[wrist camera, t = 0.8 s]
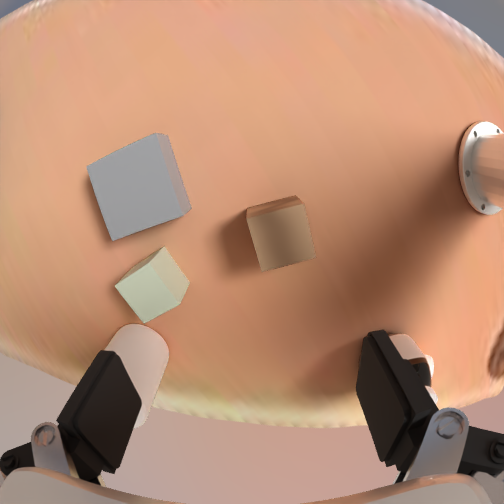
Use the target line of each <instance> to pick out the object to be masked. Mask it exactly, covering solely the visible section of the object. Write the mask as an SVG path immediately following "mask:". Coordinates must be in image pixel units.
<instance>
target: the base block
mask: <svg viewBox="0 0 504 504" xmlns="http://www.w3.org/2000/svg"><path fill="white" fill-rule="evenodd" d="M87 170H88V173H89V177H90V180H91V183H92V186H93V189H94V192H95V195H96V198H97V201H98V204H99V207H100V210H101V213H102V215H103V218H104V221H105V224H106V226H107V229H108V231H109V234H110V237H111V239H112V241H114V240H117V239H119V238H122V237H125V236H128V235H130V234H133V233H136V232H138V231H141V230H144V229H147V228H150V227H152V226H155V225H158V224H161V223H164V222H167V221H170V220H173V219H176V218H178V217H181V216H184V215H185V214H186V213H187V212H188V211H189V210H190V209H192V207H191V204H190V202H189V199H188V196H187V193H186V190H185V187H184V184H183V181H182V178H181V175H180V172H179V168H178V165H177V162H176V159H175V156H174V153H173V150H172V147H171V143H170V140H169V137H168V135H164V134H159V133H154V134H152V135H150V136H147V137H145V138H143V139H140V140H138V141H136V142H134V143H132V144H130V145H127V146H125V147H123V148H121V149H119V150H117V151H115V152H113V153H111V154H109V155H107V156H105V157H103V158H101V159H99V160H98V161H96V162H94V163H92V164H90V165H88V166H87Z"/></svg>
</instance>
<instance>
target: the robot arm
mask: <svg viewBox="0 0 504 504" xmlns="http://www.w3.org/2000/svg"><path fill="white" fill-rule="evenodd" d="M459 176H460V181H461V185H462V188H463V192H464V194H465V196H466V198H467V200H468V202H469V203H470V205H471V206H472V207H473V208H474V209H475V210H476V211H478V212H480V213H483V214H486V215H493V214H496V213H498V212H499V211H501V210H502V209H504V133H503V132H502V131H501V130H500V128H498V127H497V126H496V125H495V124H493V123H491V122H486V121H482V122H476V123H474V124H472V125H471V126H470V127H469V128H468V129H467V131H466V132H465V134H464V137H463V139H462V142H461V146H460V152H459ZM356 392H357V396H358V399H359V401H360V404H361V407H362V410H363V412H364V415H365V418H366V421H367V424H368V427H369V430H370V432H371V435H372V438H373V441H374V444H375V447H376V450H377V453H378V457H379V459H380V461H381V462H383V461H385V464H386V467H389V466H392V465H396V467H397V470H398V471H399V473H398V475H397V477H396V479H395V481H394V483H393V484H392V485H389V486H385V487H381V488H377V489H374V490H370V491H366V492H362V493H358V494H354V495H349V496H345V497H340V498H334V499H329V500H323V501H316V502H310V503H302V504H504V434H501V433H496V432H492V431H488V430H483V429H480V428H476V427H472V426H469V421H468V418H467V417H466V415H465V414H464V413H463V412H462V411H460V410H458V409H456V408H443V409H441V410H439V409H438V408H437V406H436V404H435V403H434V401H433V399H432V397H431V396H430V394H429V392H428V391H427V389H426V387H425V386H424V384H423V382H422V381H421V379H420V377H419V376H418V374H417V372H416V371H415V369H414V368H413V366H412V364H411V363H410V362H409V360H407V359H403V358H402V356H401V355H400V353H399V352H398V350H397V348H396V347H395V345H394V344H393V342H392V341H391V339H390V338H389V336H388V334H387V333H386V331H385V330H378V331H373V332H369V333H368V336H367V337H364V339H363V346H362V353H361V360H360V366H359V372H358V378H357V384H356ZM141 406H142V400H141V398H140V396H139V394H138V392H137V390H136V388H135V386H134V385H133V383H132V381H131V379H130V377H129V375H128V373H127V371H126V369H125V367H124V364H123V362H122V360H121V358H120V356H119V355H117V354H116V352H114V351H106V350H101V351H100V352H99V353H98V354H97V356H96V357H95V359H94V360H93V362H92V363H91V365H90V367H89V368H88V370H87V371H86V373H85V374H84V376H83V377H82V379H81V380H80V382H79V384H78V385H77V387H76V388H75V390H74V392H73V393H72V395H71V397H70V398H69V400H68V401H67V403H66V405H65V406H64V408H63V410H62V412H61V413H60V415H59V417H58V418H57V420H56V421H57V422H58V423H59V425H58V426H56V425H55V424H53V423H51V422H45V423H42V424H40V425H38V426H37V427H36V428H35V429H34V430H33V432H32V435H31V442H29V443H27V444H24V445H22V446H19V447H16V448H14V449H11V450H8V451H7V452H5V453H4V454H3V455H2V457H1V459H0V504H184V503H176V502H169V501H163V500H157V499H152V498H147V497H142V496H137V495H132V494H129V493H125V492H121V491H117V490H113V489H110V488H107V487H106V485H105V483H104V481H103V479H102V476H101V474H100V473H101V471H102V470H103V471H105V472H109V473H112V474H114V473H115V470H116V468H119V467H120V464H121V461H122V458H123V456H124V453H125V450H126V447H127V444H128V442H129V439H130V436H131V433H132V431H133V428H134V425H135V423H136V420H137V417H138V415H139V412H140V409H141Z"/></svg>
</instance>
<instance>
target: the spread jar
mask: <svg viewBox="0 0 504 504" xmlns="http://www.w3.org/2000/svg"><path fill="white" fill-rule="evenodd" d="M388 336H389V338H390V339H391V341H392V342H393V344H394V345H395V347H396V348H397V350H398V352H399V353H400V355H401V356H402V358H403V359H407V360H409V362H410V363H411V364H412V366H413V368H414V369H415V371H416V372H417V374H418V376H419V377H420V379H421V381H422V382H423V384H424V386H425V387H426V389H427V391H428V392H429V394H430V396H431V397H432V399H433V401H434V403H435V404H437V400H438V397H437V395H436V394H435V392H434V390H433V389H432V388H431V378H432V375H433V370H434V363H433V359H432V357H431V356H429V355H426V354H423V353H422V351H421V350H420V348H419V347H418V346H417V344H416V343H415V342H414V340H413V339H412V338H411V337H410V336H408V335H407V334H402V333H397V334H389V335H388ZM360 360H361V355H360V359H359V366H360Z"/></svg>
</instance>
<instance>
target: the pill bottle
mask: <svg viewBox="0 0 504 504" xmlns="http://www.w3.org/2000/svg"><path fill="white" fill-rule="evenodd" d="M105 350H106V351H114V352H116V354H117V355H119V356H120V358H121V360H122V362H123V364H124V367H125V369H126V371H127V373H128V375H129V377H130V379H131V381H132V383H133V385H134V386H135V388H136V390H137V392H138V394H139V396H140V398H141V400H142V406H141V409H140V412H139V415H138V417H137V420H136V423H135V425H134V428H133V429H135V428H138V427H140V426H141V425H143V423H144V422H145V421H146V420H147V418H148V415H149V412H150V409H151V407H152V404H153V401H154V398H155V396H156V393H157V390H158V387H159V385H160V382H161V379H162V377H163V374H164V371H165V369H166V366H167V363H168V359H169V349H168V346H167V344H166V342H165V341H164V339H163V338H162V337H161V336H160V335H159V334H158V333H157V332H156V331H154V330H153V329H151V328H149V327H147V326H144V325H141V324H128V325H125V326H123V327H122V328H120V329H119V330H118V331H117V332H116V334H115V335H114V337H113V338H112V340H111V341H110V343H109V344H108V345H107V347H106V348H105Z"/></svg>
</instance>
